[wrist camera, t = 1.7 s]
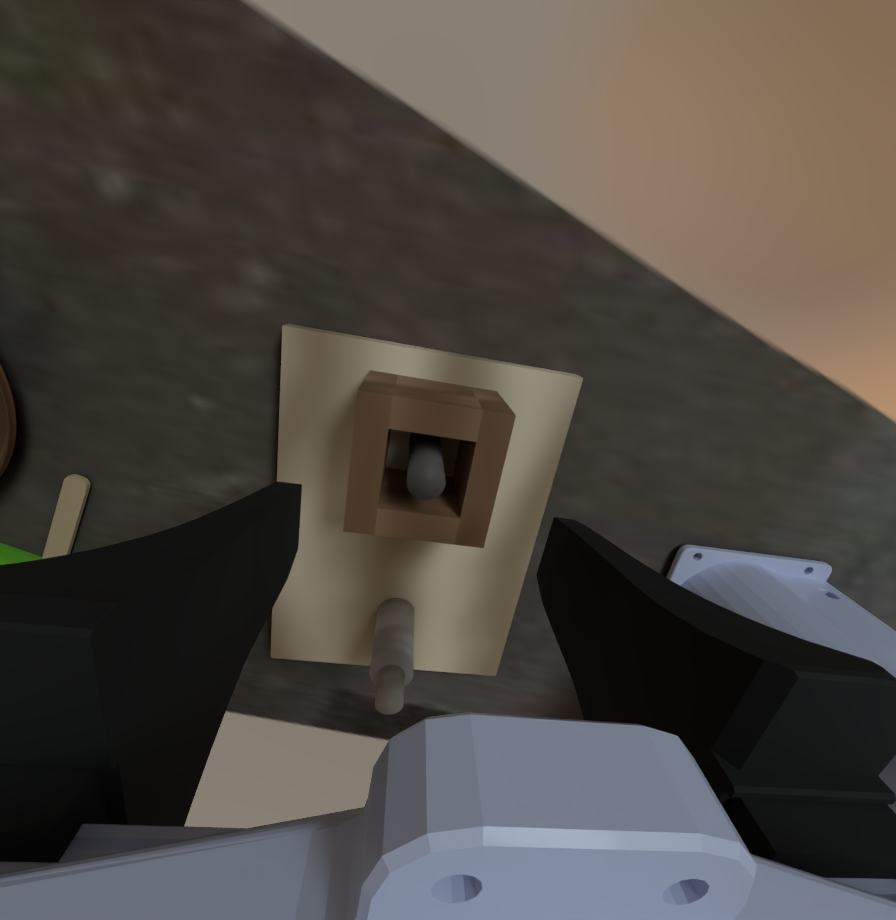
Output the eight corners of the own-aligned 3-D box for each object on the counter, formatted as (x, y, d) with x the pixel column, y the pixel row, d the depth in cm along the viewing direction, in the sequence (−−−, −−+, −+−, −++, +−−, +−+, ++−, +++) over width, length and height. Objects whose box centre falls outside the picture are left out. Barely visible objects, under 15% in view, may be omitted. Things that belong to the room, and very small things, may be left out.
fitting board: (575, 374, 20) (644, 409, 14) (493, 662, 26) (515, 773, 20) (289, 324, 18) (223, 339, 12) (276, 643, 24) (229, 759, 18)
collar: (496, 391, 19) (516, 415, 15) (472, 502, 21) (483, 548, 17) (370, 370, 18) (357, 390, 14) (357, 487, 20) (342, 531, 16)
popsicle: (-23, 661, 24) (-57, 690, 22) (31, 444, 20) (-7, 458, 18) (81, 690, 25) (56, 720, 24) (152, 492, 21) (128, 510, 19)
